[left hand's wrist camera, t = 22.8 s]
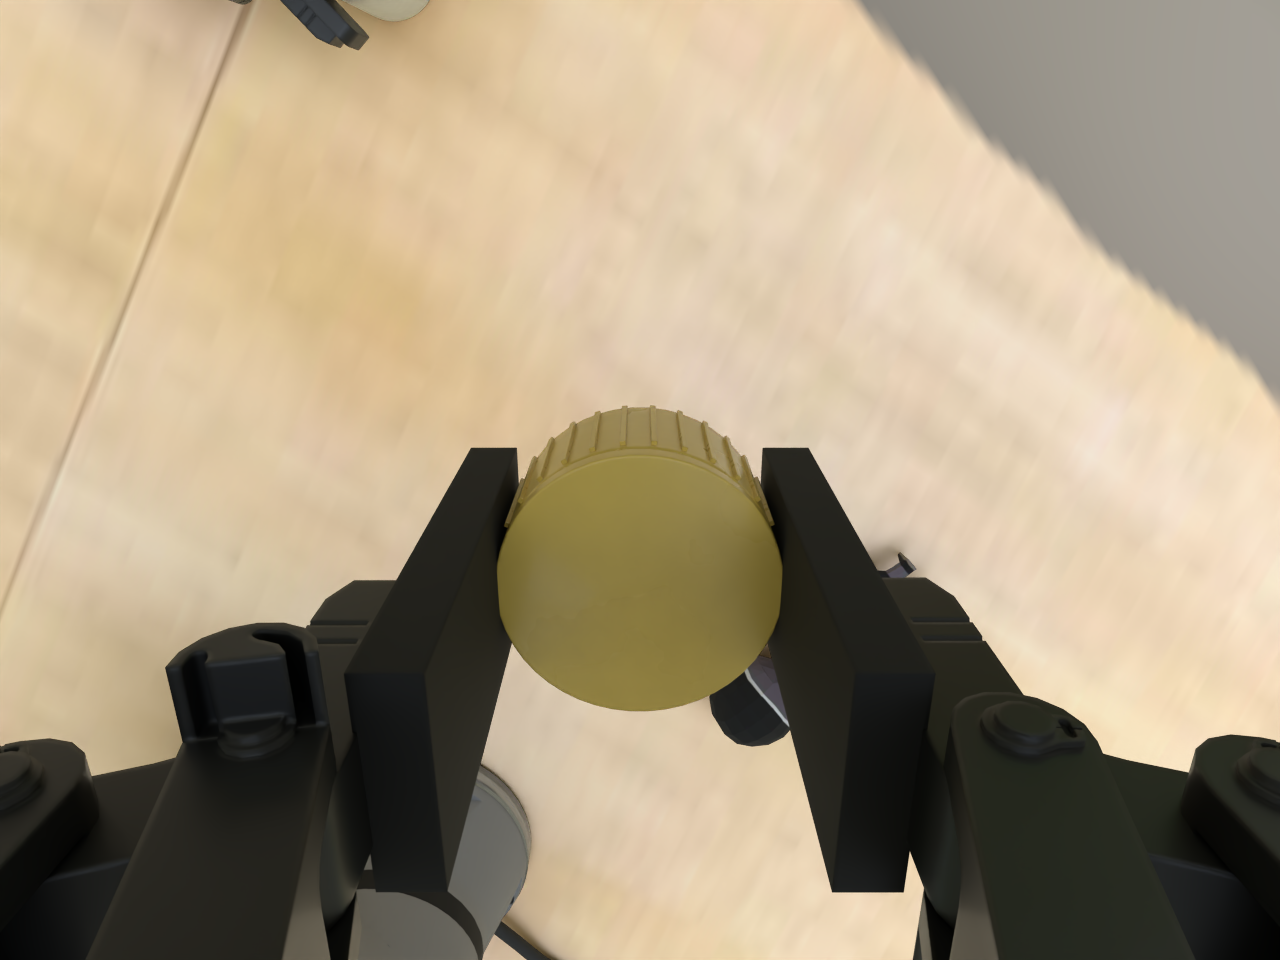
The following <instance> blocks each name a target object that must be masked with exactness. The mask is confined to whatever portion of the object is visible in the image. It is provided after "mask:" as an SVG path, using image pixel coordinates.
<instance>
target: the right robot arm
mask: <svg viewBox="0 0 1280 960" xmlns="http://www.w3.org/2000/svg"><path fill="white" fill-rule="evenodd" d="M230 1H233V2H235V3H238V4H247V3H249V2H251V1H252V0H230ZM280 1H281V2H282V3H283V4H284V5H285V6H286V7H287V8H288V9H289V10H290V11H291V12H292V13H293V14H294V15H295V16H296V17H297V18H298V19H299V20H300V21H301V22H302V23H303V24H304V25H305V26H306V28H307V29H308V30H309V31H310V32H311V33H312V34H313V35H314V36H315V37H316V38H318V39H320V40H322V41H324V42H326V43H328V44H330V45H333V46H336V47H339V48H341V46H342V45H343V44H345V45H347V46H348V47H351V48H353V49H356V50H359V49H360V48H361V47H362V46H363V44H364V43H365V42H366V41H367V40H368V39H369V36H368V35H367V34H366V32H365V31H364V30H363V29H362V28H361V27H360V26H359V25H358V24H357V23H356V22H355V21H354V20H353V18H352V17H351V16H350V15H349V14H348V13H347V12H346V11H345V10H344V9H343V8H342V7H341V6H340V5H339V4H338V3H337V1H336V0H280Z"/></svg>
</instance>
